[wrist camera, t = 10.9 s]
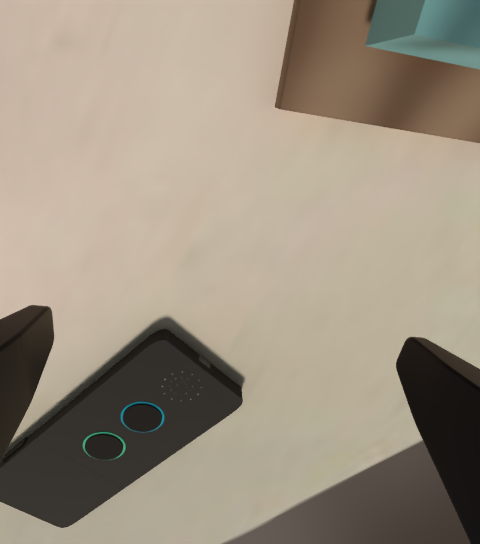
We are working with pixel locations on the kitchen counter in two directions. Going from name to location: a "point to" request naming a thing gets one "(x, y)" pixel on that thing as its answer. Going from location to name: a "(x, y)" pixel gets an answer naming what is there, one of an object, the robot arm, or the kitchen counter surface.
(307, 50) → the stand
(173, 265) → the kitchen counter surface
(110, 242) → the kitchen counter surface
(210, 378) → the smart home device
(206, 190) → the kitchen counter surface
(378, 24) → the collar
